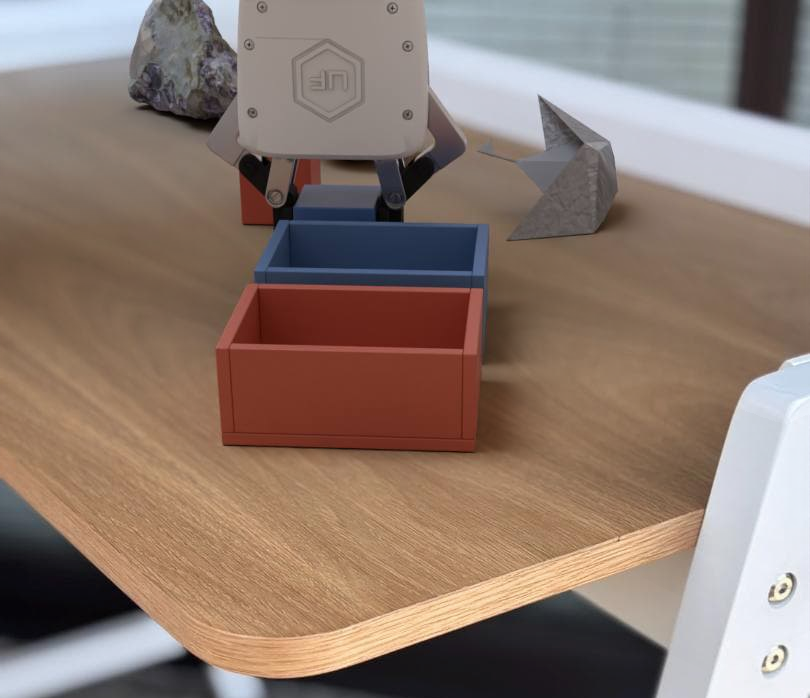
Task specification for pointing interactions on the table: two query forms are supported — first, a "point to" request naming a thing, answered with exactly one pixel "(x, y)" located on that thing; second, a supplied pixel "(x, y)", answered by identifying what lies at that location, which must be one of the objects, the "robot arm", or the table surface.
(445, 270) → the blue bin
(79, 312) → the table surface
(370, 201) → the blue block
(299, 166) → the terracotta block
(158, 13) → the mineral rock
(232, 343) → the terracotta bin
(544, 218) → the grey faceted pointed figurine
